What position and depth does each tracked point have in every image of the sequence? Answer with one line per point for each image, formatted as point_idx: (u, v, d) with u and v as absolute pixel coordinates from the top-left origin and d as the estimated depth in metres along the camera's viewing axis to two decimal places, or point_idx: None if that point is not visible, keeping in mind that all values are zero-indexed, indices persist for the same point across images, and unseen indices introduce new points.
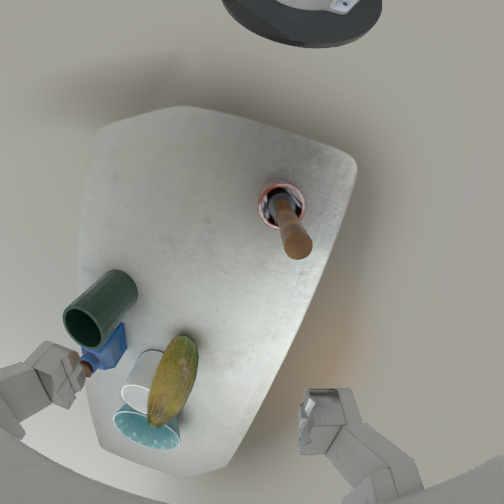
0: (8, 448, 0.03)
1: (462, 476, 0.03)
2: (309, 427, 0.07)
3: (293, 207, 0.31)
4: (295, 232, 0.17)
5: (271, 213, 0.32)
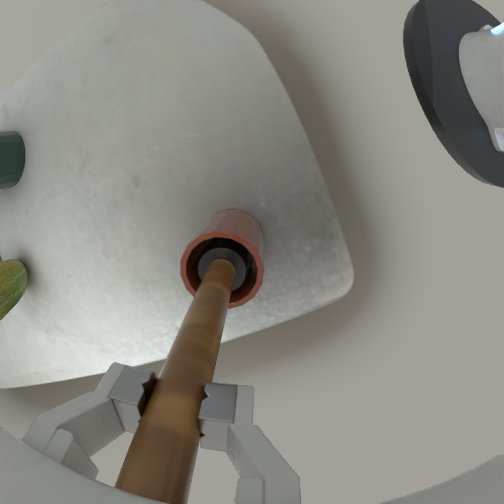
0: (8, 448, 0.03)
1: (462, 476, 0.03)
2: None
3: (234, 286, 0.18)
4: None
5: (200, 265, 0.18)
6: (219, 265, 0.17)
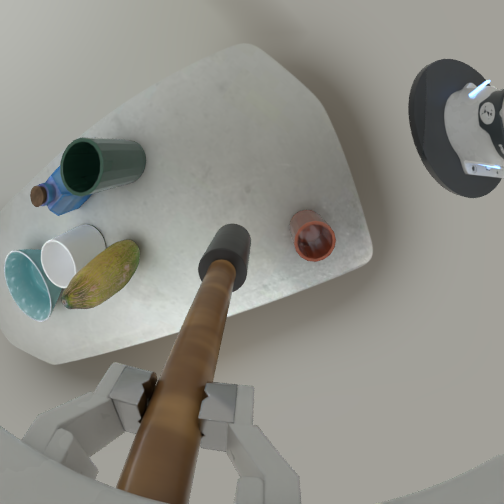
0: (8, 448, 0.03)
1: (462, 476, 0.03)
2: None
3: (235, 286, 0.18)
4: None
5: (201, 266, 0.18)
6: (219, 266, 0.17)
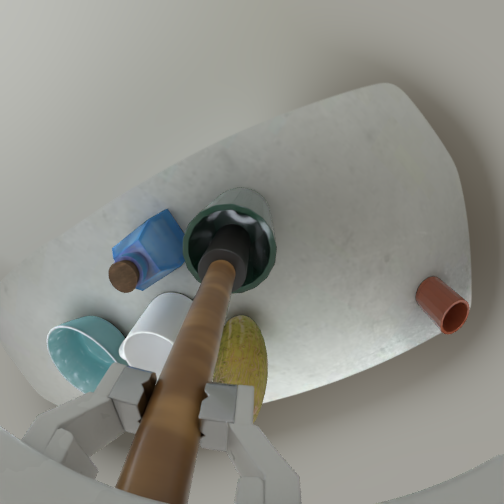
0: (8, 448, 0.03)
1: (462, 476, 0.03)
2: None
3: (234, 287, 0.18)
4: None
5: (200, 266, 0.18)
6: (219, 266, 0.17)
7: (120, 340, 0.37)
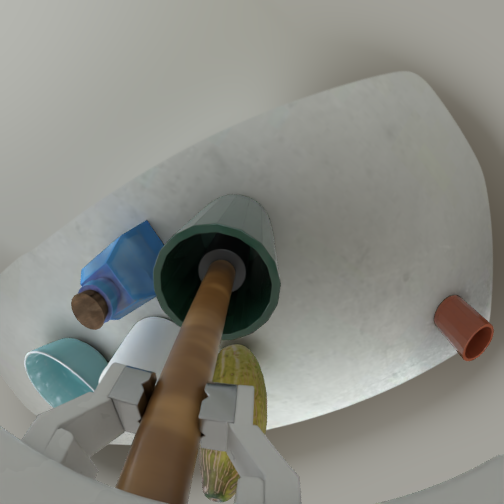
0: (8, 448, 0.03)
1: (462, 476, 0.03)
2: None
3: (234, 287, 0.18)
4: None
5: (200, 266, 0.18)
6: (219, 266, 0.17)
7: (102, 366, 0.31)
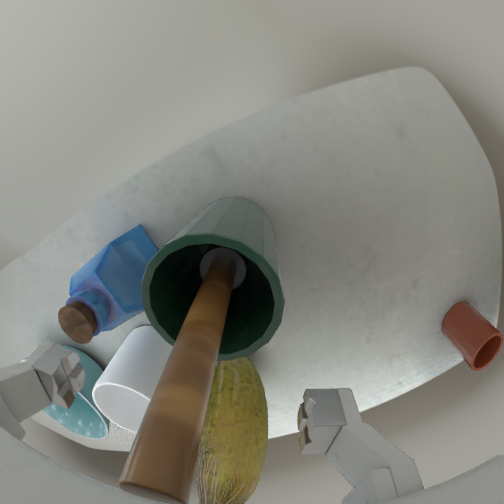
0: (8, 448, 0.03)
1: (462, 476, 0.03)
2: (309, 427, 0.07)
3: (235, 284, 0.19)
4: (165, 488, 0.04)
5: (202, 264, 0.18)
6: (220, 264, 0.17)
7: (96, 375, 0.29)
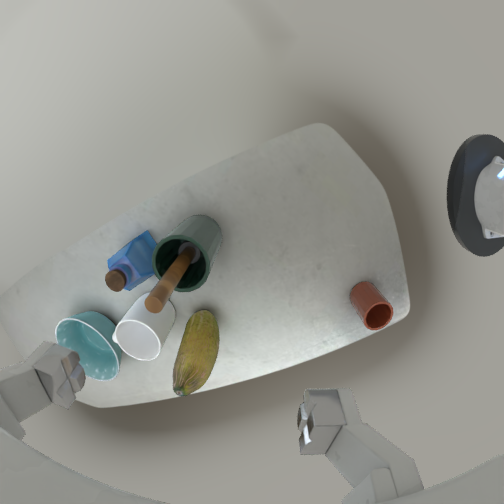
0: (8, 448, 0.03)
1: (462, 476, 0.03)
2: (309, 427, 0.07)
3: (195, 260, 0.38)
4: (157, 297, 0.23)
5: (179, 250, 0.38)
6: (187, 249, 0.36)
7: (113, 329, 0.48)
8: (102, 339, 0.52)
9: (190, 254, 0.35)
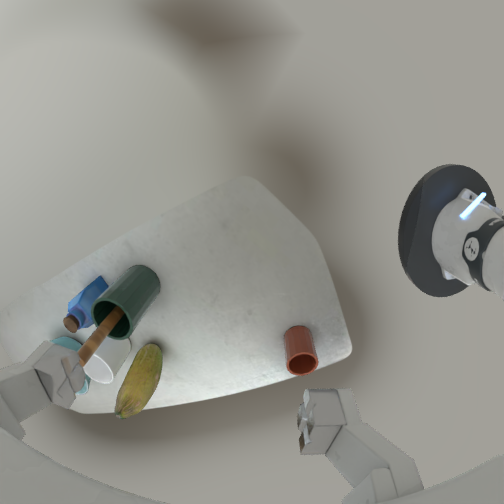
0: (8, 448, 0.03)
1: (462, 476, 0.03)
2: (309, 427, 0.07)
3: None
4: (80, 357, 0.27)
5: None
6: None
7: None
8: None
9: (121, 309, 0.39)
